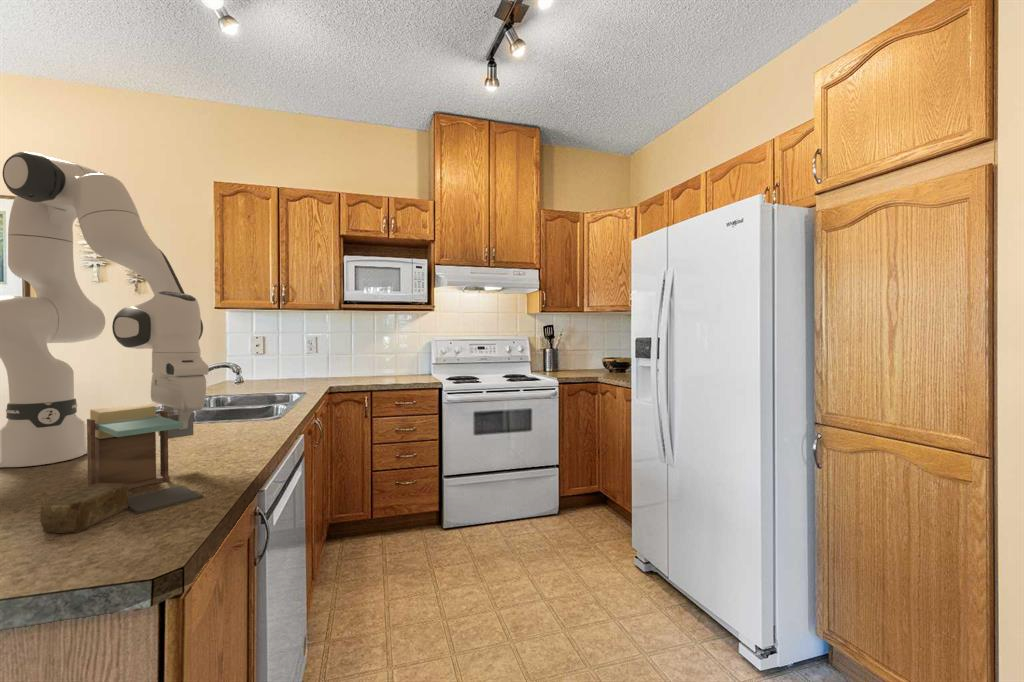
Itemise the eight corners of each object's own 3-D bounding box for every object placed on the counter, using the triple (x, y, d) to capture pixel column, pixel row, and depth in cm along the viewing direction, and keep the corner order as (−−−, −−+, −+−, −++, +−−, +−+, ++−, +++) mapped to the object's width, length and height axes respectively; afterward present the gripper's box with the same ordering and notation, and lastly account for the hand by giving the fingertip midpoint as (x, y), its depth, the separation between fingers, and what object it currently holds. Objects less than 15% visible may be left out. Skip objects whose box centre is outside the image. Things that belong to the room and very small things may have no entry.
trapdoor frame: (77, 490, 92) (76, 416, 92) (157, 474, 103) (156, 407, 102) (89, 498, 88) (87, 420, 87) (170, 480, 98) (169, 411, 98)
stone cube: (158, 435, 105) (158, 413, 105) (184, 431, 109) (184, 410, 109) (167, 438, 102) (167, 415, 102) (193, 435, 106) (193, 413, 106)
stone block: (36, 536, 72) (36, 503, 72) (97, 508, 83) (97, 480, 83) (77, 535, 72) (76, 503, 72) (132, 508, 83) (132, 480, 83)
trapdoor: (85, 435, 93) (85, 410, 93) (149, 426, 101) (149, 403, 101) (116, 448, 82) (115, 420, 82) (184, 437, 91) (184, 412, 91)
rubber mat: (118, 501, 86) (118, 499, 86) (181, 487, 94) (181, 485, 94) (137, 514, 80) (137, 511, 80) (203, 497, 88) (203, 495, 88)
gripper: (142, 362, 109) (141, 422, 109) (178, 368, 97) (178, 435, 97) (174, 361, 114) (173, 418, 114) (212, 367, 102) (211, 430, 102)
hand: (176, 426), depth 106 cm, fingers closed on stone cube, 5 cm apart
